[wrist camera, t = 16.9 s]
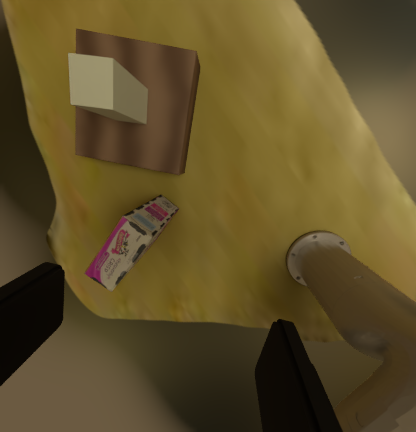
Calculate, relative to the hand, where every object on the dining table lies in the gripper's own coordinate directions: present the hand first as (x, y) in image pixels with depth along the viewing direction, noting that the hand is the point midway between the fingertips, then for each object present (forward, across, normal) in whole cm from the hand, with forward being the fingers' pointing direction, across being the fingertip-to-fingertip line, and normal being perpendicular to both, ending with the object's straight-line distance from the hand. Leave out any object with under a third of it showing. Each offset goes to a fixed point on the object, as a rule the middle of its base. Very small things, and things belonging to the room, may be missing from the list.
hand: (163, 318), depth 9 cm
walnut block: (+33, +15, -12) cm, 39 cm away
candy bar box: (+33, +10, +8) cm, 36 cm away
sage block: (+27, +15, -12) cm, 33 cm away
